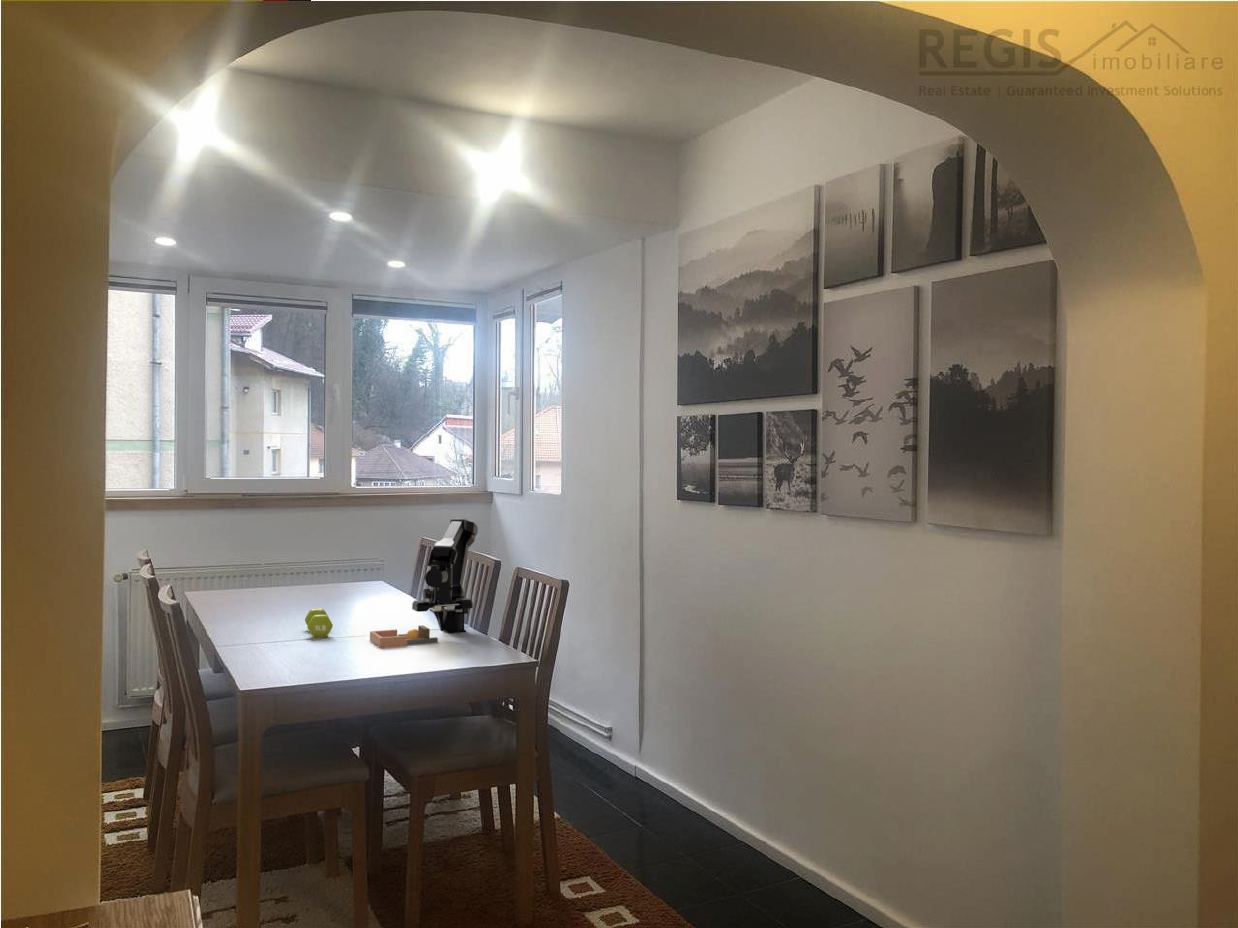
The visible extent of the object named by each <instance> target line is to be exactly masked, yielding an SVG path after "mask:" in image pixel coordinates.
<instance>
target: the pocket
mask: <svg viewBox="0 0 1238 928" xmlns="http://www.w3.org/2000/svg"><path fill="white" fill-rule="evenodd" d="M407 640H408V639H407V636H398V629H386V630H385V629H383V630H382V629H381V630H370V631H369V641H370V642H371V643H372V642H373V643H372V644H374V645H376V646H377V647H378V648H379V649H382V648H393V647H394V648H396V647H407V646H408V645H407Z"/></svg>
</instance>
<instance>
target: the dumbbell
mask: <svg viewBox="0 0 1238 928" xmlns="http://www.w3.org/2000/svg"><path fill="white" fill-rule="evenodd" d="M304 622H305V624H306V625H307V626H306V627H307V630H308V631H309V634H310V635H311V636H312V638H314V639H315V638H318V637H320V638H326V637H327V636H329V634H330V633H331V631H332V629H333V626H334V625H333V623H332V621H331V619H330V617H329V615H328V614H327V611H326V610H325V609H323V608H312V609H310V610H309V611H308V613H307V614H306V615H305V618H304ZM318 639H319V638H318Z"/></svg>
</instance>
